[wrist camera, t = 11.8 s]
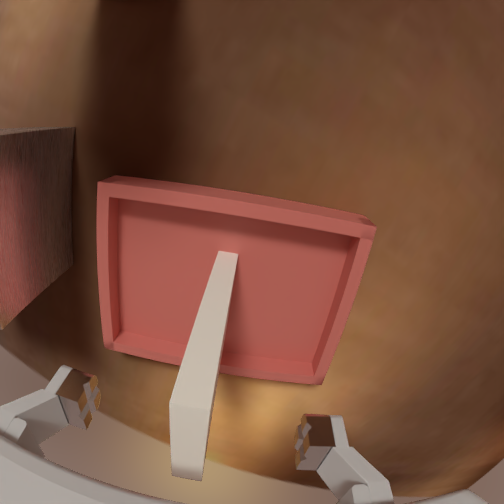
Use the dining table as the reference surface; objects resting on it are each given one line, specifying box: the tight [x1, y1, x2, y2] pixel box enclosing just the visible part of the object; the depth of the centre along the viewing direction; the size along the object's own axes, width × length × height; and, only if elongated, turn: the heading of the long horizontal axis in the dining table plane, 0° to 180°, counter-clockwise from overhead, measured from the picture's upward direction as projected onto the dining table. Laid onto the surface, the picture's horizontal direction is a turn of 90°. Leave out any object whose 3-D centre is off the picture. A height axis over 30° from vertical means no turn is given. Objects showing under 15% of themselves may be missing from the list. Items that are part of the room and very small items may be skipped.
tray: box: [97, 175, 377, 385], centre depth 20 cm, size 16×12×2 cm
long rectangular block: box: [169, 251, 238, 481], centre depth 15 cm, size 1×5×12 cm, turn 171°
